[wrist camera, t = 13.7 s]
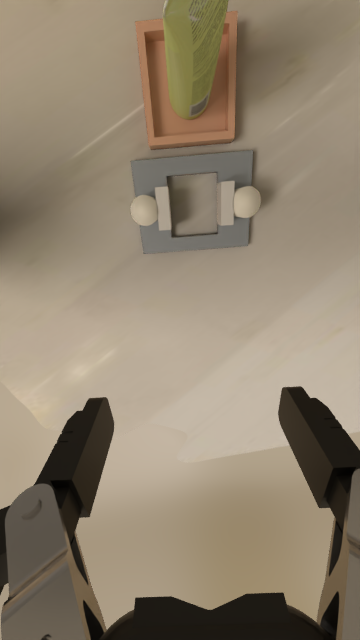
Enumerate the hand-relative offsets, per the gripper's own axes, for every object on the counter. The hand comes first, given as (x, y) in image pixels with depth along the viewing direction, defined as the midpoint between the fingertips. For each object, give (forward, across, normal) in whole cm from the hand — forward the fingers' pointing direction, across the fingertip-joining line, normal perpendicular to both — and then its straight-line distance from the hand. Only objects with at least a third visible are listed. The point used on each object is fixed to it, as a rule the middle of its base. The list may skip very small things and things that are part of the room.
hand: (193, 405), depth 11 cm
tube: (+30, -2, -20) cm, 36 cm away
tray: (+30, -2, -20) cm, 36 cm away
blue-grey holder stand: (+30, -2, -8) cm, 31 cm away
